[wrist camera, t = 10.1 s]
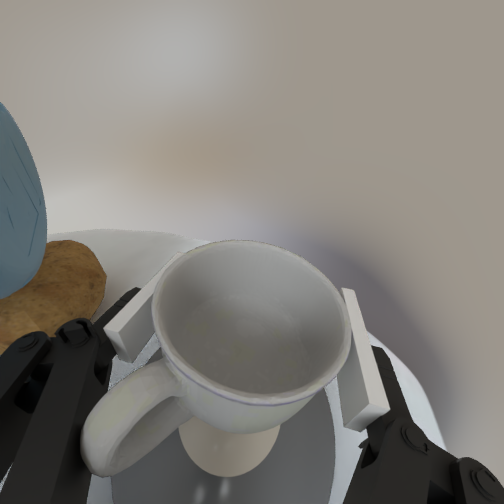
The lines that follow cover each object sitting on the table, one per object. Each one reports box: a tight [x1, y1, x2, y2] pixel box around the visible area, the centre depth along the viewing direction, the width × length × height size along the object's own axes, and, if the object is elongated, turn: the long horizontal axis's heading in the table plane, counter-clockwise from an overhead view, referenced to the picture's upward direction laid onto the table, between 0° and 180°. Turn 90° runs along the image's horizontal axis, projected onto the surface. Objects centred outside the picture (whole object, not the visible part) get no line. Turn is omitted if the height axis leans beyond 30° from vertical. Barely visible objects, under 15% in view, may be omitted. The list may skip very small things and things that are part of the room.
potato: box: [0, 240, 107, 355], centre depth 21 cm, size 10×14×8 cm
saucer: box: [111, 347, 335, 504], centre depth 18 cm, size 18×18×1 cm
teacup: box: [80, 240, 352, 478], centre depth 12 cm, size 14×11×8 cm
